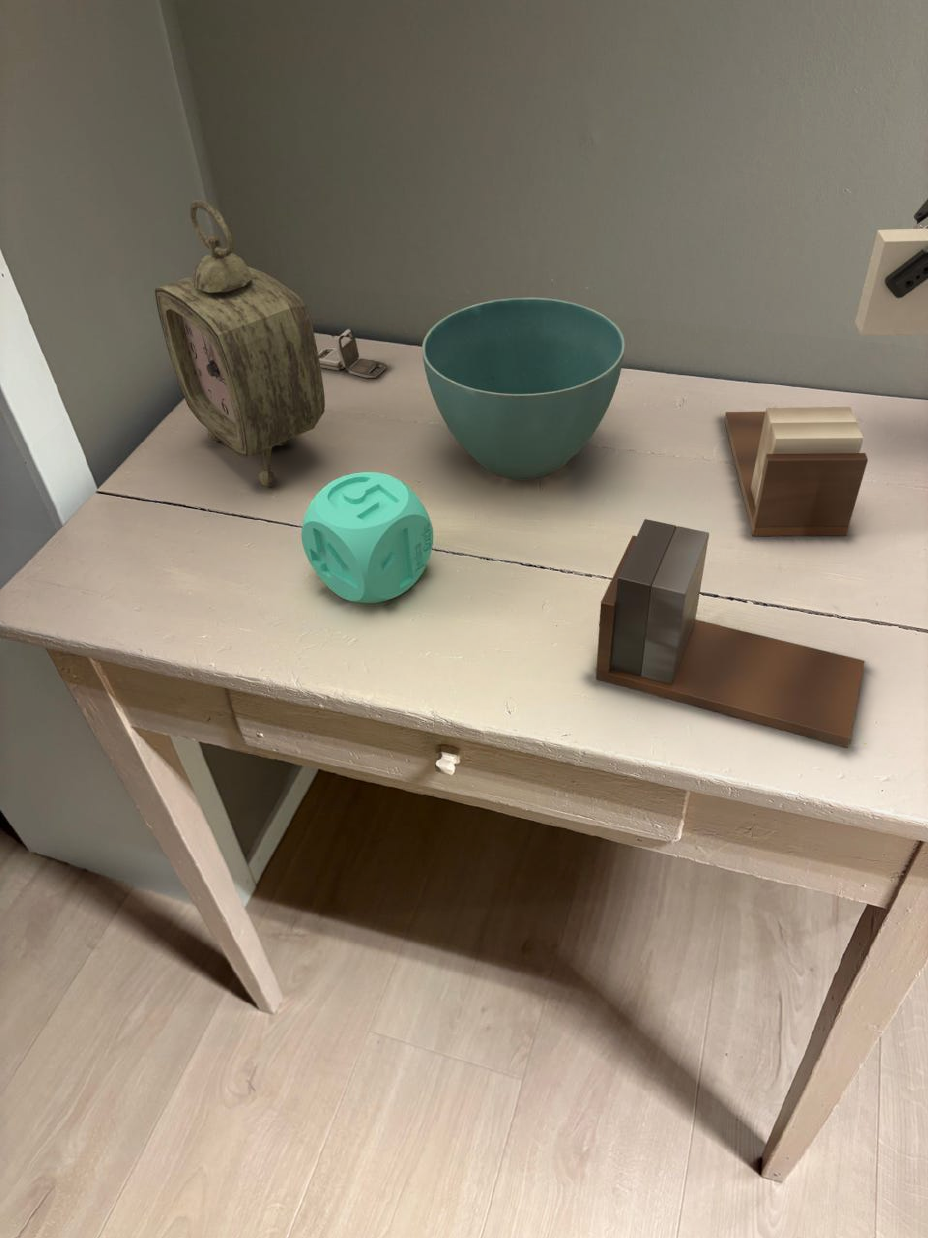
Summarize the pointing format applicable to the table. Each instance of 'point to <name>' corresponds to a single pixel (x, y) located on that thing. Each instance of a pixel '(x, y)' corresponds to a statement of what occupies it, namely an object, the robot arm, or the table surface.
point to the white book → (878, 305)
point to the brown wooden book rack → (798, 468)
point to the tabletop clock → (241, 351)
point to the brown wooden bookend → (713, 646)
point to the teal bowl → (523, 380)
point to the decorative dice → (367, 537)
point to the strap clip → (348, 358)
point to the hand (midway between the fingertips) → (886, 281)
